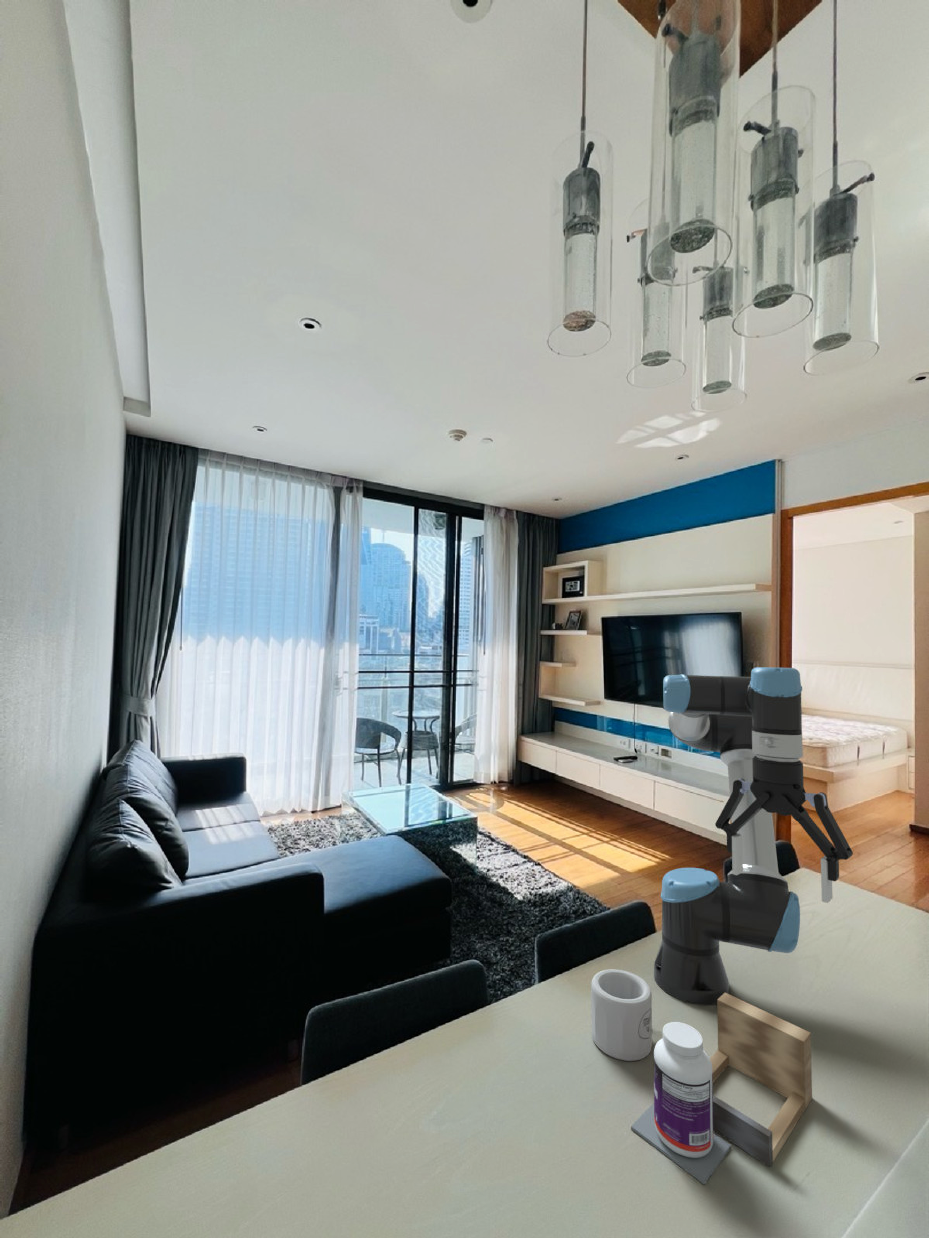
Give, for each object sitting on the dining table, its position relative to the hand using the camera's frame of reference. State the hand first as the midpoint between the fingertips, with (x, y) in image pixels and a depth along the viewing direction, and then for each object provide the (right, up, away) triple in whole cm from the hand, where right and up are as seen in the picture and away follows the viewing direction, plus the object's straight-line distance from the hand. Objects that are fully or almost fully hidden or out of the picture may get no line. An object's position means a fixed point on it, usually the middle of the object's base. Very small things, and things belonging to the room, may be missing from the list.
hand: (780, 885), depth 90 cm
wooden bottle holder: (-9, -32, -5) cm, 34 cm away
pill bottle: (-21, -31, -12) cm, 39 cm away
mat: (-21, -32, -11) cm, 40 cm away
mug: (-23, -33, +10) cm, 42 cm away
